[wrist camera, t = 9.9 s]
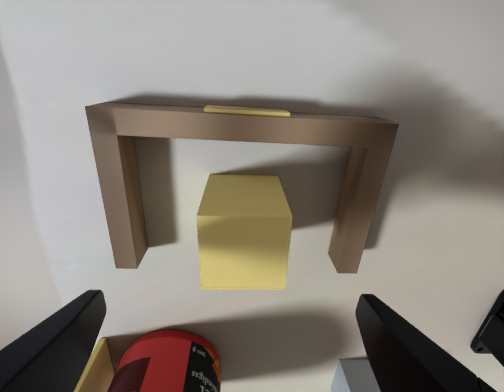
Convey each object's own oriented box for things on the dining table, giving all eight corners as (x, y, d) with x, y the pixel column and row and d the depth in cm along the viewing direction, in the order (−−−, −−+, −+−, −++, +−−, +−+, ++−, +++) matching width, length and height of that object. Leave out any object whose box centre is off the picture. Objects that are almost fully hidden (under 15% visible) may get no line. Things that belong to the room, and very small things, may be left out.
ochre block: (277, 175, 16) (292, 216, 11) (273, 233, 17) (284, 289, 13) (209, 174, 16) (196, 215, 11) (211, 232, 17) (201, 289, 13)
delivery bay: (379, 113, 14) (400, 119, 13) (345, 253, 18) (356, 273, 16) (105, 97, 14) (84, 101, 12) (129, 247, 17) (115, 268, 16)
